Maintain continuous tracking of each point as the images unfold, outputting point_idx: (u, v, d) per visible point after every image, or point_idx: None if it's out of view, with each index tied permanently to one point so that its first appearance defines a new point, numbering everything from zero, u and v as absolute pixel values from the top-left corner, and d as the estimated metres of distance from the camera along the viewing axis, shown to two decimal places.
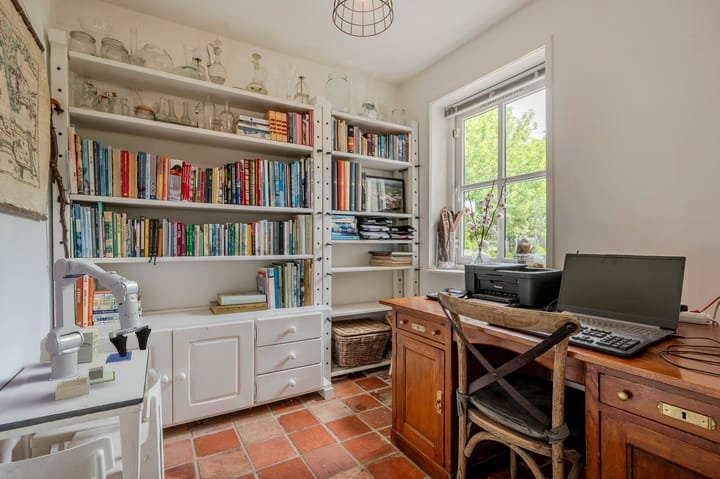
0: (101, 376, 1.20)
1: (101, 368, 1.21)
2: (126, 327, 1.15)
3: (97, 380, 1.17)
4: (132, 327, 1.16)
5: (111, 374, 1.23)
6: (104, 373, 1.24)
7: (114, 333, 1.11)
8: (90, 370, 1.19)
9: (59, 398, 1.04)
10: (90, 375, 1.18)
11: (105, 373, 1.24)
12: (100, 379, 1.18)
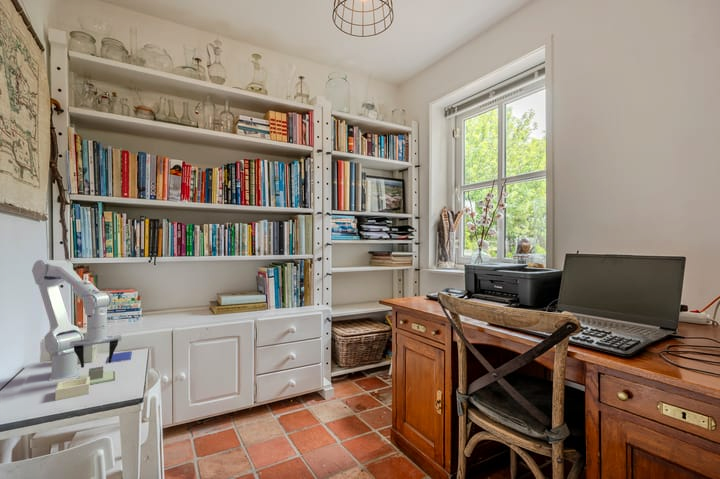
0: (101, 376, 1.20)
1: (101, 368, 1.21)
2: (87, 339, 1.18)
3: (97, 380, 1.17)
4: (91, 341, 1.18)
5: (111, 374, 1.23)
6: (104, 373, 1.24)
7: (71, 344, 1.16)
8: (90, 370, 1.19)
9: (59, 398, 1.04)
10: (90, 375, 1.18)
11: (105, 373, 1.24)
12: (100, 379, 1.18)
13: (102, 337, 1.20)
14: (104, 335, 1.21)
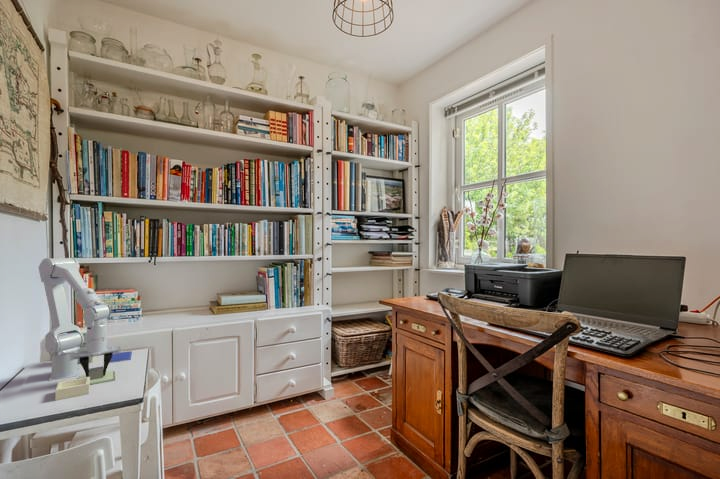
0: (101, 376, 1.20)
1: (101, 368, 1.21)
2: (87, 351, 1.18)
3: (97, 380, 1.17)
4: (90, 353, 1.18)
5: (111, 374, 1.23)
6: None
7: (71, 356, 1.16)
8: (90, 370, 1.19)
9: (59, 398, 1.04)
10: (90, 375, 1.18)
11: None
12: (100, 379, 1.18)
13: (102, 349, 1.20)
14: (104, 347, 1.20)
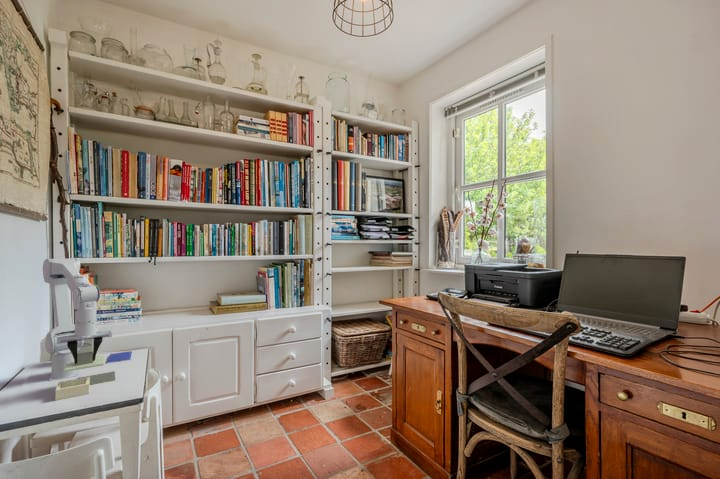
0: (90, 361, 1.14)
1: (91, 353, 1.15)
2: (75, 335, 1.12)
3: (86, 365, 1.11)
4: (79, 336, 1.12)
5: (101, 359, 1.17)
6: None
7: (58, 340, 1.10)
8: (79, 355, 1.13)
9: (59, 398, 1.04)
10: (79, 360, 1.12)
11: (95, 359, 1.18)
12: (90, 364, 1.12)
13: (91, 332, 1.14)
14: (93, 330, 1.15)
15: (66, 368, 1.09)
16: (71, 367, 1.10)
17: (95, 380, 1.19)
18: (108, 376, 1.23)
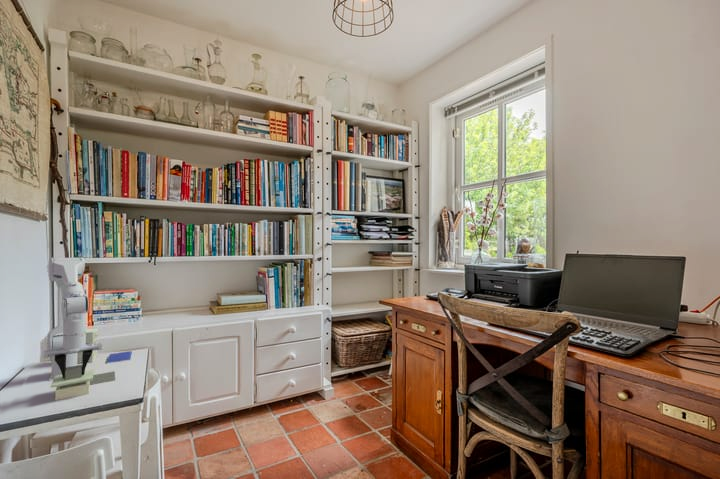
0: (79, 375, 1.08)
1: (79, 367, 1.10)
2: (63, 348, 1.07)
3: (74, 380, 1.06)
4: (67, 350, 1.06)
5: (91, 373, 1.12)
6: None
7: (45, 353, 1.04)
8: (67, 369, 1.08)
9: (59, 398, 1.04)
10: (67, 374, 1.07)
11: (85, 372, 1.13)
12: (78, 379, 1.07)
13: (80, 345, 1.08)
14: (82, 343, 1.09)
15: (53, 383, 1.04)
16: (58, 382, 1.04)
17: (95, 380, 1.19)
18: (108, 376, 1.23)
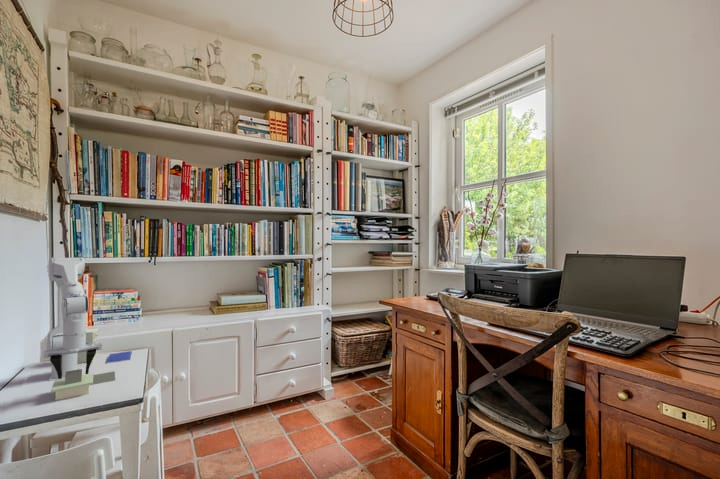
0: (79, 380, 1.08)
1: (79, 371, 1.10)
2: (63, 348, 1.07)
3: (74, 385, 1.06)
4: (67, 350, 1.06)
5: (91, 377, 1.12)
6: (83, 376, 1.13)
7: (45, 353, 1.04)
8: (67, 373, 1.08)
9: (59, 398, 1.04)
10: (67, 379, 1.07)
11: (84, 376, 1.13)
12: (78, 383, 1.07)
13: (80, 345, 1.08)
14: (82, 343, 1.09)
15: (53, 388, 1.03)
16: (58, 387, 1.04)
17: (95, 380, 1.19)
18: (108, 376, 1.23)
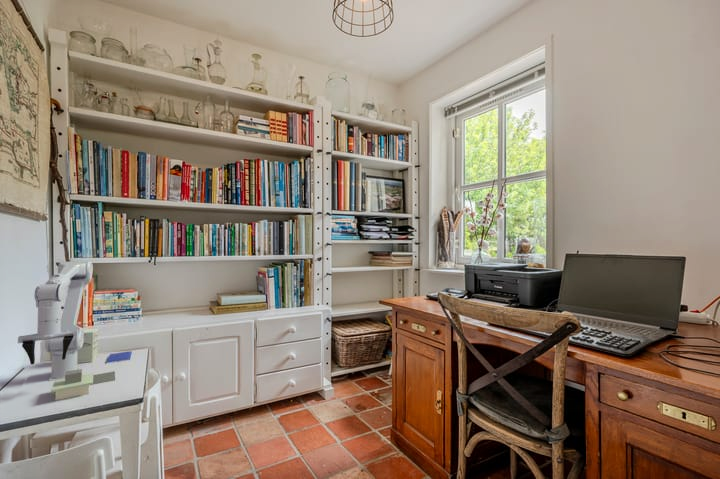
0: (79, 380, 1.08)
1: (79, 371, 1.10)
2: (37, 334, 1.09)
3: (74, 385, 1.06)
4: (41, 335, 1.09)
5: (91, 377, 1.12)
6: (83, 376, 1.13)
7: (19, 339, 1.07)
8: (67, 373, 1.08)
9: (59, 398, 1.04)
10: (67, 379, 1.07)
11: (84, 376, 1.13)
12: (78, 383, 1.07)
13: (55, 331, 1.11)
14: (57, 329, 1.12)
15: (53, 388, 1.03)
16: (58, 387, 1.04)
17: (95, 380, 1.19)
18: (108, 376, 1.23)
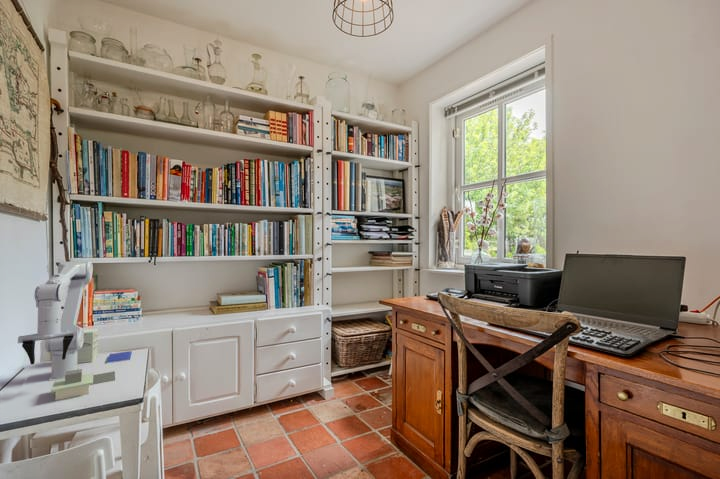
0: (79, 380, 1.08)
1: (79, 371, 1.10)
2: (37, 334, 1.09)
3: (74, 385, 1.06)
4: (41, 335, 1.09)
5: (91, 377, 1.12)
6: (83, 376, 1.13)
7: (19, 339, 1.07)
8: (67, 373, 1.08)
9: (59, 398, 1.04)
10: (67, 379, 1.07)
11: (84, 376, 1.13)
12: (78, 383, 1.07)
13: (55, 331, 1.11)
14: (57, 329, 1.12)
15: (53, 388, 1.03)
16: (58, 387, 1.04)
17: (95, 380, 1.19)
18: (108, 376, 1.23)
